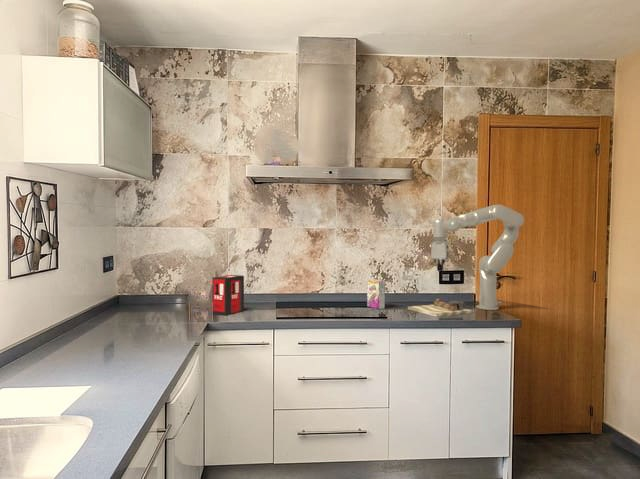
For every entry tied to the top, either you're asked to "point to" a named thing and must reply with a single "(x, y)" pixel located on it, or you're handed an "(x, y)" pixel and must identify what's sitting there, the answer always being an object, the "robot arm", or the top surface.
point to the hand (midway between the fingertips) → (440, 270)
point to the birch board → (437, 310)
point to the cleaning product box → (228, 294)
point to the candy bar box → (376, 294)
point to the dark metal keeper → (457, 304)
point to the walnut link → (445, 305)
